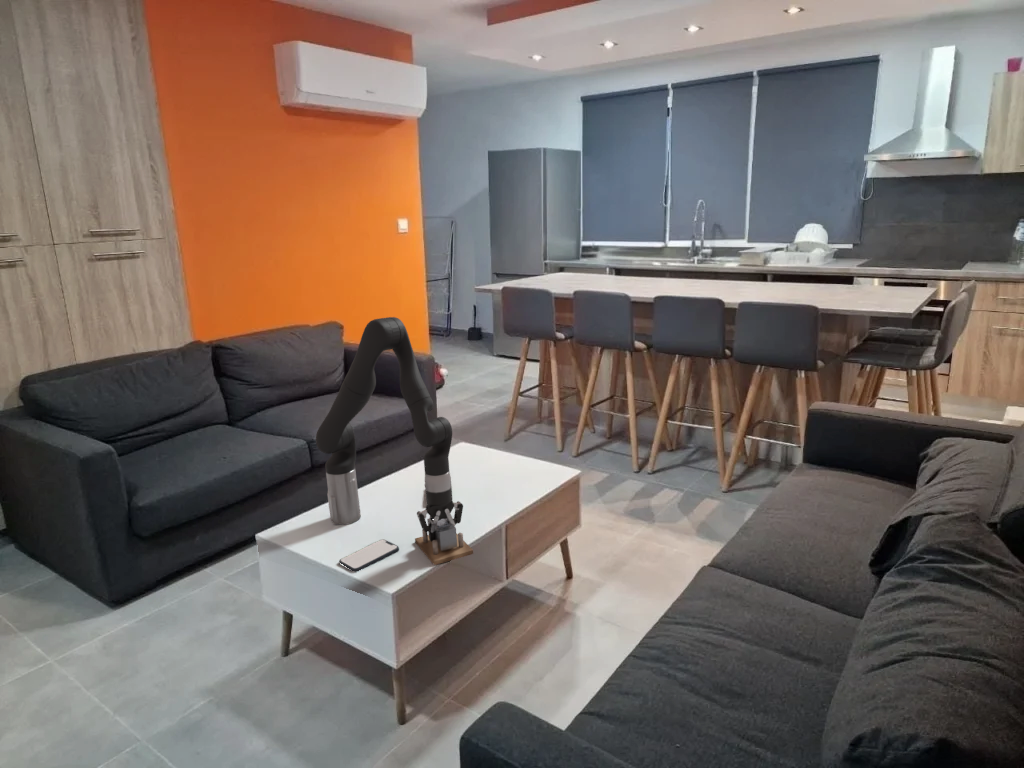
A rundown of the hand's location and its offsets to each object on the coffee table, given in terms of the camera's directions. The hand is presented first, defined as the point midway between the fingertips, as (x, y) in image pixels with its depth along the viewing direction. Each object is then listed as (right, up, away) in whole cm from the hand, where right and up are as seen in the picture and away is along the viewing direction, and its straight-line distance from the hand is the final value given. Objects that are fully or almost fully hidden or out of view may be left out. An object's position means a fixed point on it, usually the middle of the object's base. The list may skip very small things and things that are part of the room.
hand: (442, 539), depth 196 cm
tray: (0, -3, +1) cm, 3 cm away
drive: (0, -1, 0) cm, 1 cm away
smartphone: (-21, -5, -2) cm, 22 cm away
